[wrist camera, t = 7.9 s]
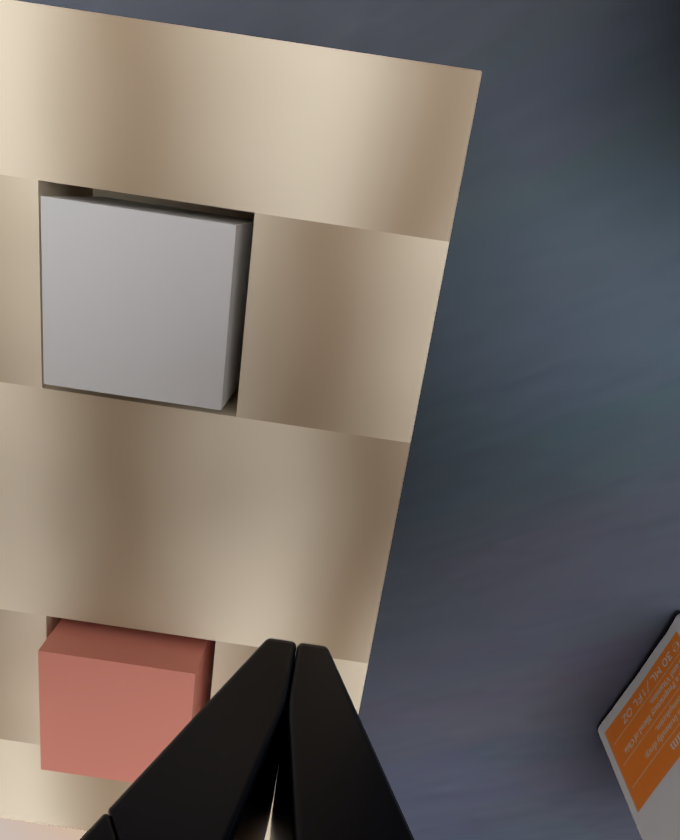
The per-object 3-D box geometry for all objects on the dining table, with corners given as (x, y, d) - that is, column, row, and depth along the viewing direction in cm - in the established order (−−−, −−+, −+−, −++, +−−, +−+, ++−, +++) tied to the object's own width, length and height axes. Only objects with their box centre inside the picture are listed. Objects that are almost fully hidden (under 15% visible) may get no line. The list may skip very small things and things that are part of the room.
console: (457, 100, 17) (482, 71, 13) (335, 765, 25) (329, 866, 21) (-56, 22, 17) (-178, -29, 13) (-15, 714, 25) (-83, 805, 21)
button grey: (261, 220, 17) (236, 225, 14) (247, 373, 19) (220, 410, 15) (103, 196, 17) (40, 195, 14) (101, 351, 19) (43, 383, 15)
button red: (223, 598, 21) (195, 674, 17) (213, 703, 22) (185, 790, 19) (90, 578, 21) (38, 650, 17) (90, 684, 22) (40, 769, 19)
